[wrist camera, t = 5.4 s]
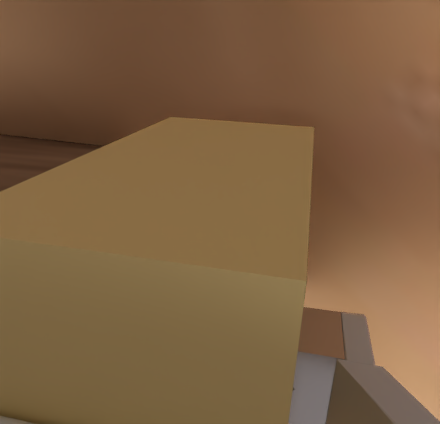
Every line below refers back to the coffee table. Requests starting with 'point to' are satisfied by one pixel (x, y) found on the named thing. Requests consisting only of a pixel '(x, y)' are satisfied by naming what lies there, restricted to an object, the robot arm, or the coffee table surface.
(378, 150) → the coffee table surface
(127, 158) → the book
